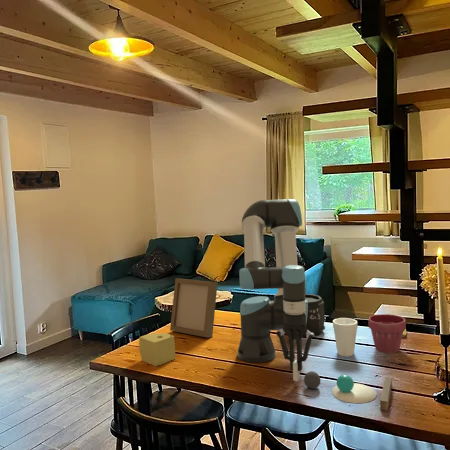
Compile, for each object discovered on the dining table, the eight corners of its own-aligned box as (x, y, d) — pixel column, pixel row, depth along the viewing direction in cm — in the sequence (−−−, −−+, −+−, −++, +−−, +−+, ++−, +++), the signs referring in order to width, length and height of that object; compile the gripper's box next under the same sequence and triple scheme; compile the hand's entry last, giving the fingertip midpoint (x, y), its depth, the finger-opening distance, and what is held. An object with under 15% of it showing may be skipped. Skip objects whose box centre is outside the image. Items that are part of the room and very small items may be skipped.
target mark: (328, 399, 147) (328, 398, 147) (335, 381, 160) (335, 380, 160) (374, 406, 142) (374, 405, 142) (378, 386, 155) (378, 386, 155)
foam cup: (358, 358, 180) (358, 325, 178) (334, 357, 182) (333, 324, 180) (356, 349, 189) (356, 318, 188) (333, 348, 191) (332, 317, 190)
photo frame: (206, 339, 208) (204, 284, 206) (170, 332, 221) (167, 280, 219) (225, 330, 220) (223, 278, 218) (189, 324, 233) (187, 274, 231)
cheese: (160, 353, 194) (159, 330, 193) (177, 359, 186) (175, 335, 185) (139, 361, 187) (138, 336, 186) (155, 367, 179) (154, 342, 178)
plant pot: (370, 341, 197) (370, 312, 196) (406, 345, 191) (406, 314, 190) (367, 354, 184) (366, 322, 182) (405, 357, 178) (405, 325, 177)
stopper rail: (380, 410, 139) (380, 400, 139) (385, 385, 156) (385, 376, 155) (387, 411, 138) (387, 401, 138) (391, 385, 155) (391, 377, 155)
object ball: (338, 375, 150) (354, 383, 148) (340, 369, 155) (357, 376, 153) (333, 390, 151) (349, 398, 149) (335, 383, 156) (351, 391, 154)
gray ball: (315, 375, 152) (319, 391, 152) (320, 368, 156) (324, 383, 157) (299, 376, 154) (304, 392, 155) (304, 369, 159) (309, 384, 159)
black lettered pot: (296, 323, 227) (295, 291, 225) (330, 328, 216) (330, 295, 215) (277, 333, 212) (276, 300, 211) (314, 340, 202) (313, 304, 200)
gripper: (272, 313, 155) (274, 381, 158) (311, 316, 150) (313, 386, 152) (279, 307, 162) (281, 372, 164) (316, 310, 157) (317, 377, 159)
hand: (296, 379), depth 158 cm, fingers closed
